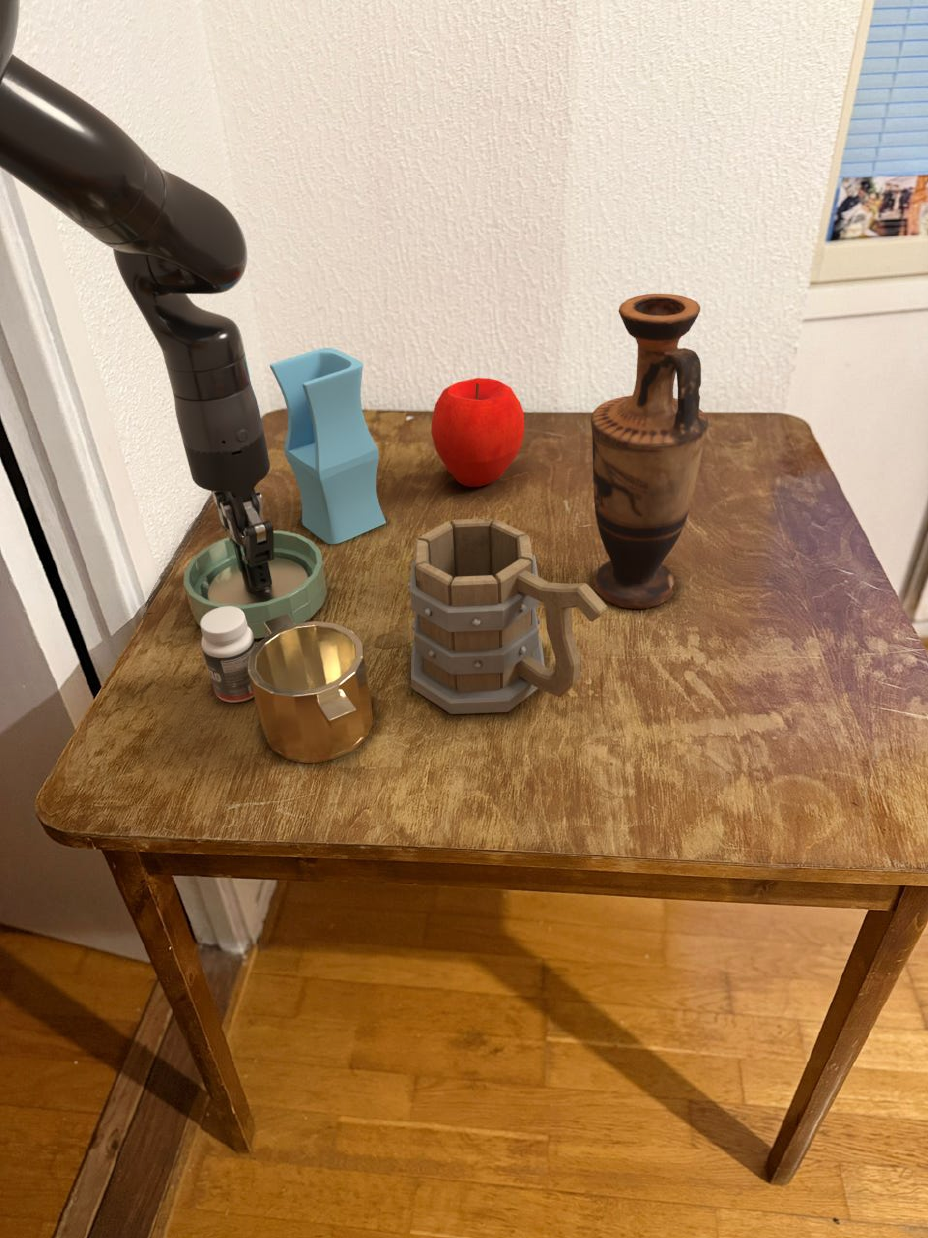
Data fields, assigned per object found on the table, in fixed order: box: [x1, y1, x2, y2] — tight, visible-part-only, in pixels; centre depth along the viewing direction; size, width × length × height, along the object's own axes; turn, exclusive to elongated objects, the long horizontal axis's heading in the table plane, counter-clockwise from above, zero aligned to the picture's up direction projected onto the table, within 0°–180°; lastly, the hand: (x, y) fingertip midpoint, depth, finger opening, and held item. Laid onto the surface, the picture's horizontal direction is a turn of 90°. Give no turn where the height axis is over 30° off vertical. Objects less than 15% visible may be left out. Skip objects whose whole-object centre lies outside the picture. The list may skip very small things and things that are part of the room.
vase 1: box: [269, 347, 387, 545], centre depth 102 cm, size 8×8×20 cm
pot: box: [248, 614, 374, 764], centre depth 78 cm, size 10×15×8 cm, turn 30°
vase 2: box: [590, 293, 709, 610], centre depth 86 cm, size 11×11×30 cm
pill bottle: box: [199, 606, 257, 703], centre depth 82 cm, size 5×5×8 cm
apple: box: [430, 377, 525, 488], centre depth 110 cm, size 12×12×13 cm
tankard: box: [407, 517, 608, 715], centre depth 79 cm, size 20×13×15 cm, turn 46°
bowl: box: [183, 529, 328, 640], centre depth 95 cm, size 14×14×4 cm
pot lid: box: [208, 542, 308, 605], centre depth 93 cm, size 11×11×7 cm
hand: (256, 578), depth 94 cm, fingers closed on pot lid, 3 cm apart
